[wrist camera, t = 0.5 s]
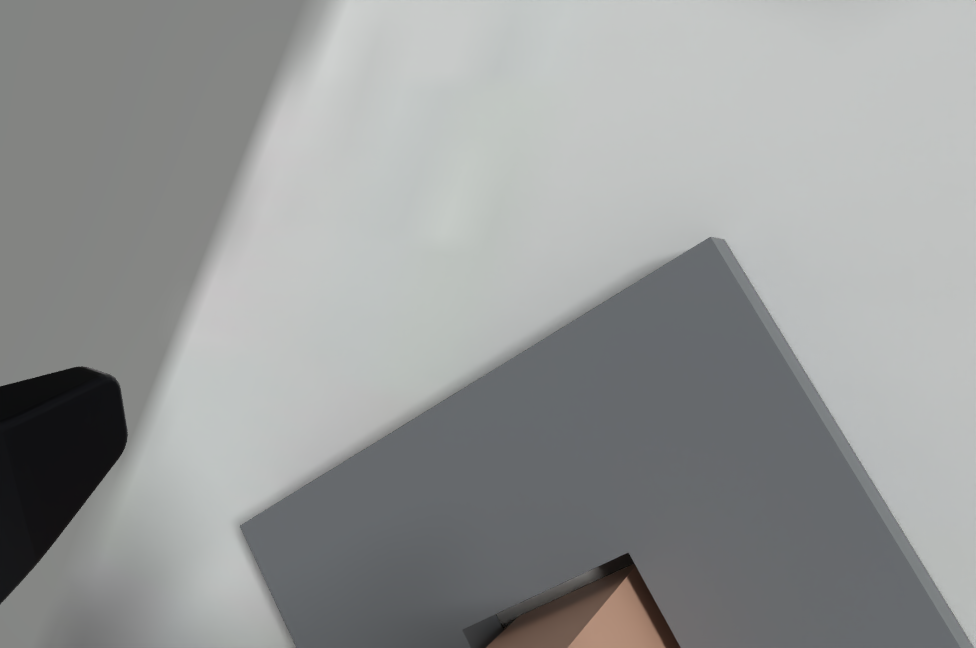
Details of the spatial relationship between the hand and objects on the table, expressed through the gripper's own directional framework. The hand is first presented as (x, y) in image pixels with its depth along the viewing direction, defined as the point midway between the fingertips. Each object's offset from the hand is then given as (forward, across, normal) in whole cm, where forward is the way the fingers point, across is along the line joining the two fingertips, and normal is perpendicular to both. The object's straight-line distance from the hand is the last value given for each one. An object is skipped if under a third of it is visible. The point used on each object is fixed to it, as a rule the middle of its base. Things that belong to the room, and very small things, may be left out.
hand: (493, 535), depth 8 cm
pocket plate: (+9, -1, +13) cm, 16 cm away
